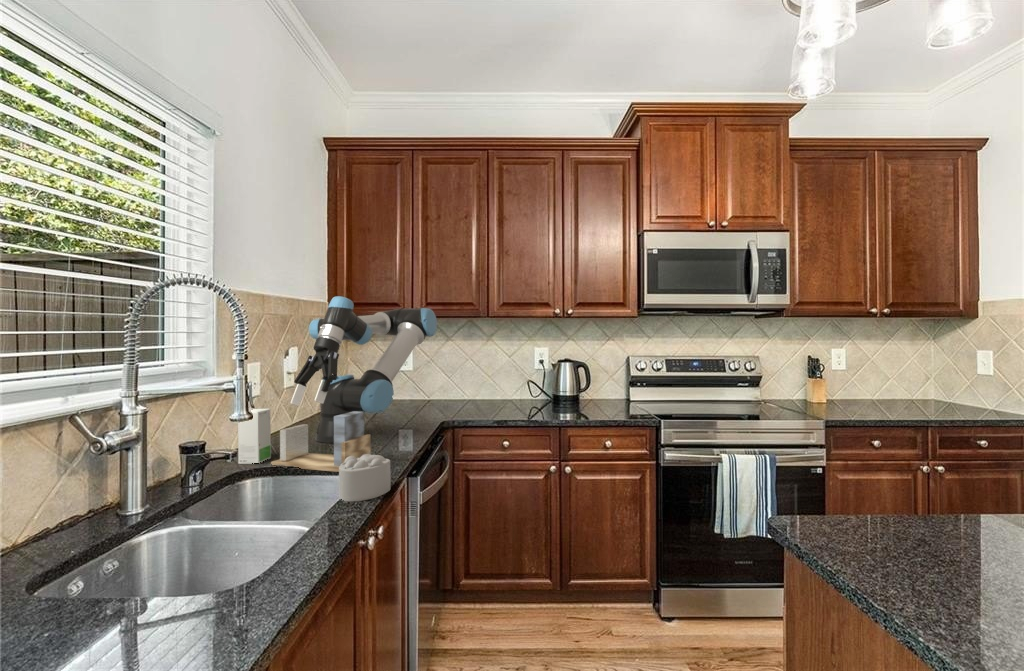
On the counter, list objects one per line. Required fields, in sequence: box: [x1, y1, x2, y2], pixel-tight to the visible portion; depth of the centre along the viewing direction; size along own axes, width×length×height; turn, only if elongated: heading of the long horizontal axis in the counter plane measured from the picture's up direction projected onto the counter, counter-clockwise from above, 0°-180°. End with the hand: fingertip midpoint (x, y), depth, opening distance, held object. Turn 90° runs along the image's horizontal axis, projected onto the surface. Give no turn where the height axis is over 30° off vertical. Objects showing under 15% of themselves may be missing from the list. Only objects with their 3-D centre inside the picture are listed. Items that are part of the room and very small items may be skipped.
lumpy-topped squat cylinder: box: [338, 454, 392, 502], centre depth 128 cm, size 10×13×9 cm
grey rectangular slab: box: [279, 423, 309, 461], centre depth 159 cm, size 10×2×9 cm, turn 164°
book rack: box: [270, 411, 372, 473], centre depth 156 cm, size 13×25×15 cm, turn 73°
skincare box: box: [237, 408, 272, 465], centre depth 160 cm, size 8×7×16 cm
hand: (306, 403), depth 161 cm, fingers open, 13 cm apart
